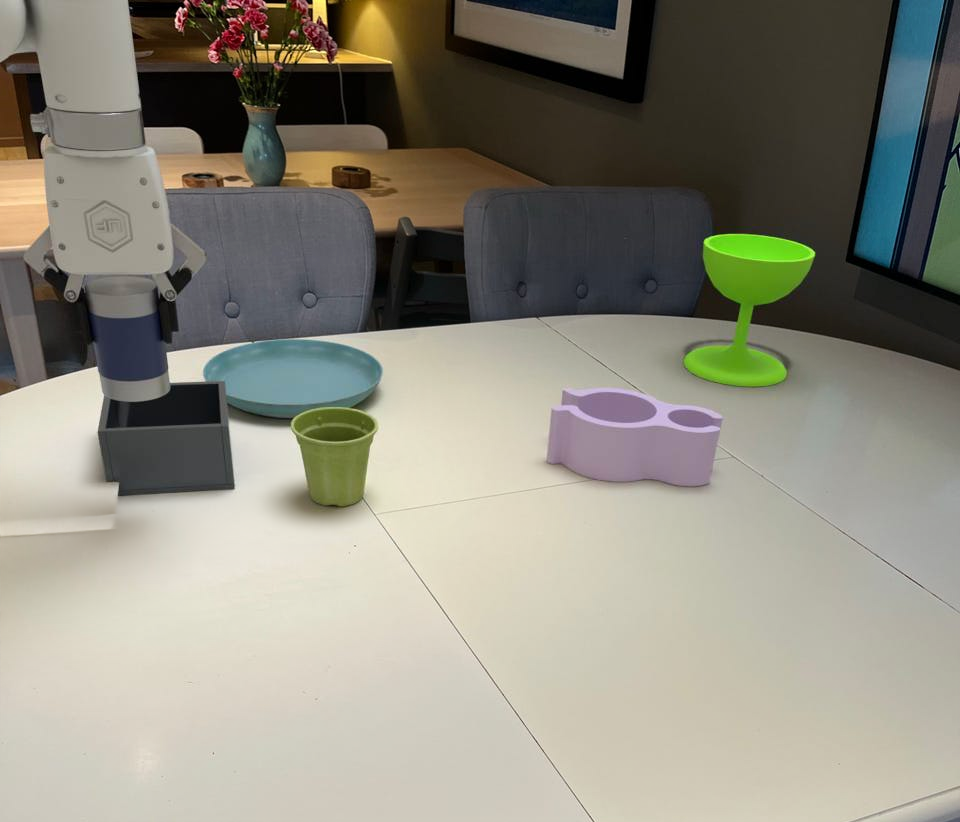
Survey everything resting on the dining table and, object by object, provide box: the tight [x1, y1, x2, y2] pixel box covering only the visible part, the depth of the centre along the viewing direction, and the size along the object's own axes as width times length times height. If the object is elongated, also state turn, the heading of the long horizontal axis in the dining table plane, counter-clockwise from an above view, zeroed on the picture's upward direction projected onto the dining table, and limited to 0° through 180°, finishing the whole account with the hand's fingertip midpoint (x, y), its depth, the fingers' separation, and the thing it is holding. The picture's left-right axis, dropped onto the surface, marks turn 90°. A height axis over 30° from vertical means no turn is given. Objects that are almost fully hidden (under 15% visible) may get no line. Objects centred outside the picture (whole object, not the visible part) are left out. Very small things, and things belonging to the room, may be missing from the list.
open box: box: [97, 381, 236, 496], centre depth 114 cm, size 14×14×8 cm
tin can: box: [84, 275, 171, 402], centre depth 94 cm, size 6×6×10 cm
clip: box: [546, 387, 724, 487], centre depth 121 cm, size 20×12×7 cm, turn 74°
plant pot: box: [290, 407, 379, 507], centre depth 110 cm, size 9×9×9 cm
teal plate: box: [202, 338, 384, 419], centre depth 136 cm, size 24×24×3 cm
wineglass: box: [682, 233, 816, 388], centre depth 149 cm, size 16×16×18 cm
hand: (129, 338), depth 94 cm, fingers closed on tin can, 6 cm apart
